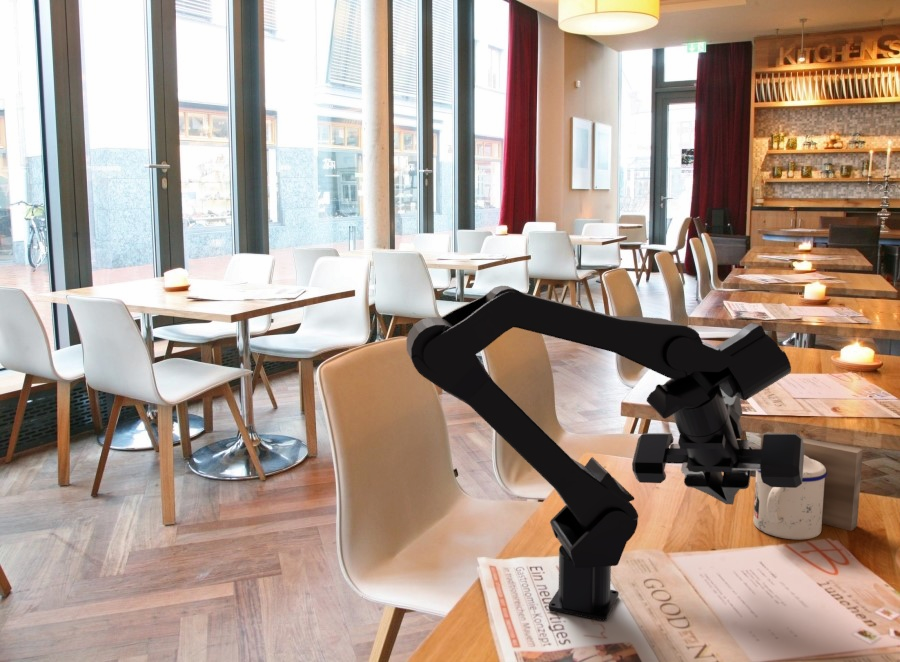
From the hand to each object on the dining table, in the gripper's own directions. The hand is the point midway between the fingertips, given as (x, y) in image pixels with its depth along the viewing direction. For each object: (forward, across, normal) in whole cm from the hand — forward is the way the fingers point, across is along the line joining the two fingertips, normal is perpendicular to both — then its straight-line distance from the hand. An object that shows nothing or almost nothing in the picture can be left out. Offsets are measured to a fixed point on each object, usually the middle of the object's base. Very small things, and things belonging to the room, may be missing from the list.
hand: (730, 501), depth 98 cm
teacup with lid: (+16, -3, -6) cm, 17 cm away
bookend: (+20, -5, -12) cm, 24 cm away
